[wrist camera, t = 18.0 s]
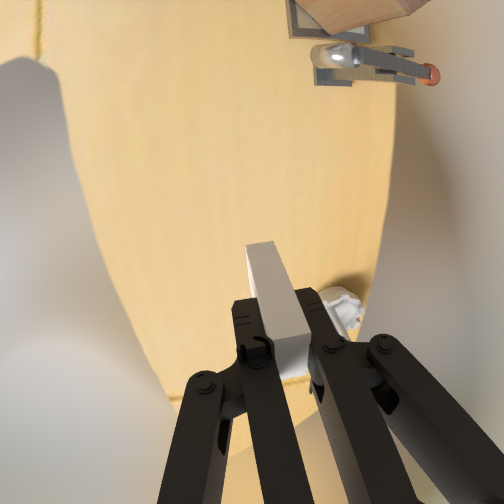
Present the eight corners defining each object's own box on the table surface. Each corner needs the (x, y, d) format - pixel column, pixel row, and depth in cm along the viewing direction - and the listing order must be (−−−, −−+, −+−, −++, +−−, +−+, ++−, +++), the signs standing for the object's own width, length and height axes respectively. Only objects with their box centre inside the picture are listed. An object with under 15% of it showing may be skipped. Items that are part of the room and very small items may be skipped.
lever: (309, 40, 21) (361, 35, 17) (406, 62, 30) (443, 66, 26) (311, 71, 22) (364, 71, 18) (407, 83, 31) (443, 88, 27)
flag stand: (363, 302, 66) (423, 403, 41) (320, 333, 69) (364, 439, 44) (338, 272, 60) (407, 388, 35) (290, 308, 63) (334, 431, 38)
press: (280, -34, 28) (325, -89, 11) (355, -24, 29) (425, -57, 12) (293, 85, 39) (350, 87, 23) (366, 87, 40) (446, 99, 24)
